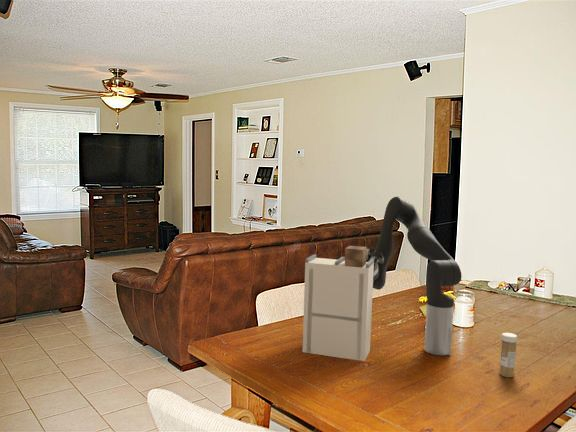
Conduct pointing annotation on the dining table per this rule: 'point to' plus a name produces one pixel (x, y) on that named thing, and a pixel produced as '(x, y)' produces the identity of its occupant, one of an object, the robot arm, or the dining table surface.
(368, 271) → the off-white tall box
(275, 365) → the dining table surface
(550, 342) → the dining table surface
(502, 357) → the sprinkles bottle
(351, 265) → the walnut bar
